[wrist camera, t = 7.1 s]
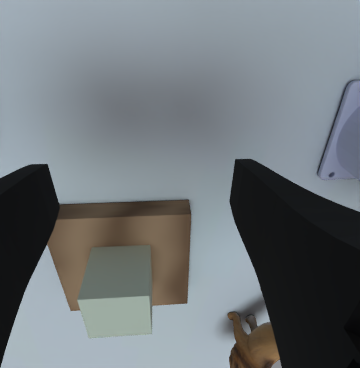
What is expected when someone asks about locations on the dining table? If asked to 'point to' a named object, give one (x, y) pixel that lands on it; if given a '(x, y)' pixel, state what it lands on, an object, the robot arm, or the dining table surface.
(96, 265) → the block
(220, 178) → the dining table surface
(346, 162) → the robot arm
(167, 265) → the base
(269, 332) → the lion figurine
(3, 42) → the dining table surface
